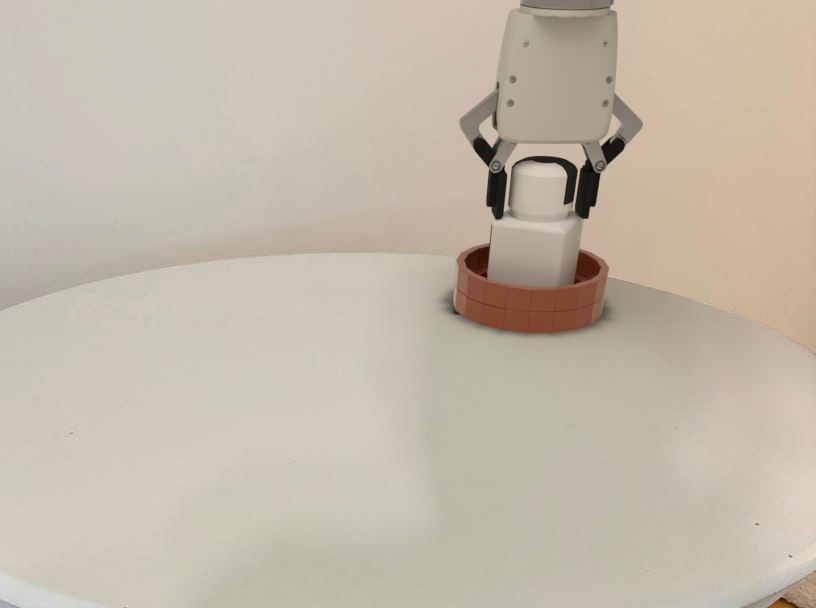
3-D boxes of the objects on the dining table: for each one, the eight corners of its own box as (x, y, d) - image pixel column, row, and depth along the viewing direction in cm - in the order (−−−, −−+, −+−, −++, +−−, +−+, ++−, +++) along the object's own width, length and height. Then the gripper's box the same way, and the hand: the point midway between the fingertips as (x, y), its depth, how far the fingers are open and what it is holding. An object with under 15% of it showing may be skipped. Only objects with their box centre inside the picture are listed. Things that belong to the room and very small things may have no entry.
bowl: (583, 289, 105) (590, 240, 102) (614, 342, 93) (624, 289, 90) (446, 289, 105) (449, 240, 102) (461, 342, 93) (465, 289, 90)
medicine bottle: (506, 275, 101) (520, 147, 94) (574, 285, 99) (594, 155, 91) (483, 297, 96) (496, 164, 89) (554, 308, 94) (573, 173, 86)
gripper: (658, -13, 85) (621, 204, 96) (457, -13, 85) (443, 204, 96) (683, -3, 79) (640, 226, 90) (467, -4, 79) (451, 226, 90)
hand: (539, 213), depth 93 cm, fingers closed on medicine bottle, 7 cm apart
